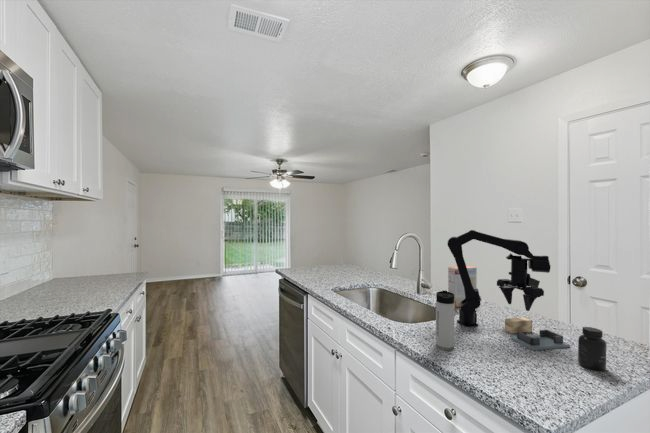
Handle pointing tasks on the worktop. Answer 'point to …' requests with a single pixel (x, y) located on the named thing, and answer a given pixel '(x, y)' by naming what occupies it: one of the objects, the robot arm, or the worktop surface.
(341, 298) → the worktop surface
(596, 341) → the supplement bottle
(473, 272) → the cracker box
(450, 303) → the travel mug
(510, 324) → the slat
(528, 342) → the board
